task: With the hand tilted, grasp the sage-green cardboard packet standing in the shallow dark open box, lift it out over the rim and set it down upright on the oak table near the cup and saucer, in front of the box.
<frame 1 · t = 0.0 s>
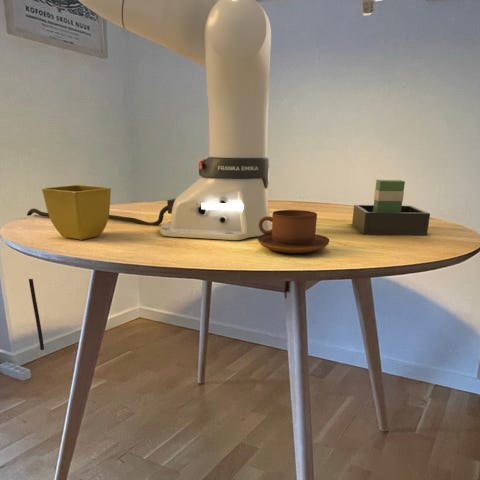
hand: (373, 7, 80), 39 cm above the table, tool pointing down, fingers open, 8 cm apart
packet: (385, 224, 100), point 1 cm above the table, touching dark open box
dark open box: (387, 229, 98), on the table
cup and saucer: (292, 250, 80), on the table
flower pot: (82, 238, 88), on the table
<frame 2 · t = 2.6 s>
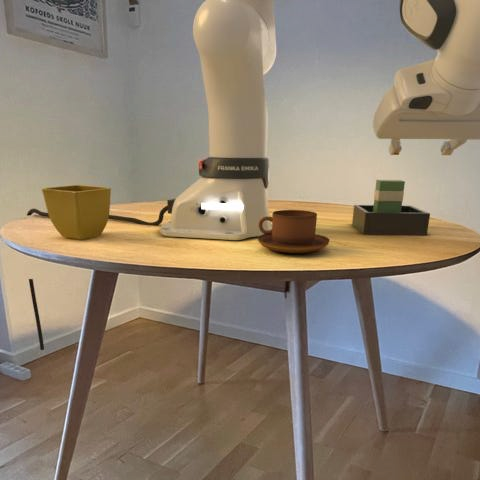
hand: (419, 152, 83), 16 cm above the table, tool tilted 45°, fingers open, 8 cm apart
nothing on the table moved.
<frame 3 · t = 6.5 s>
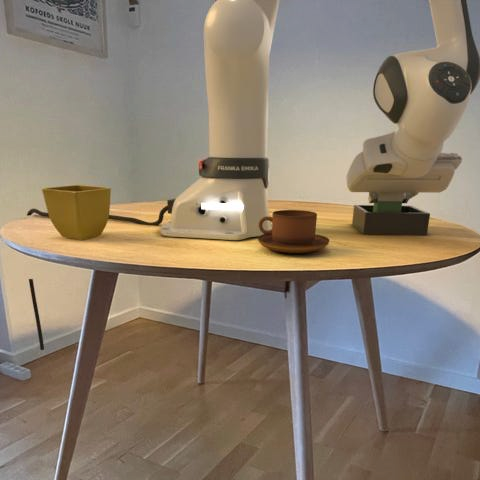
hand: (386, 200, 99), 6 cm above the table, tool tilted 45°, fingers closed on packet, 5 cm apart
packet: (385, 224, 100), point 1 cm above the table, touching gripper, dark open box
everything else where it was.
when the fingers open (5 cm above the table, at t = 15.7 s): packet stays where it is, on the table.
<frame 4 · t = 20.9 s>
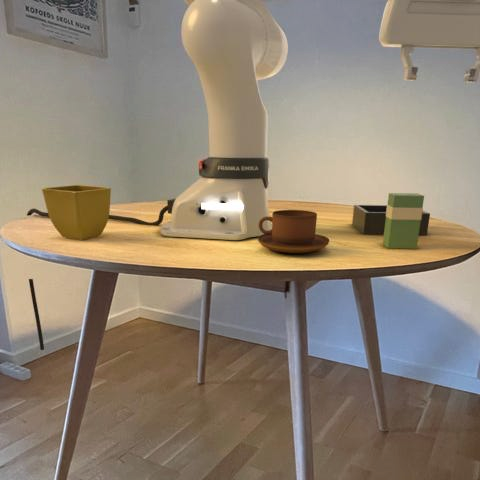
hand: (439, 81, 73), 26 cm above the table, tool pointing down, fingers open, 8 cm apart
packet: (399, 246, 83), on the table
everything else where it was.
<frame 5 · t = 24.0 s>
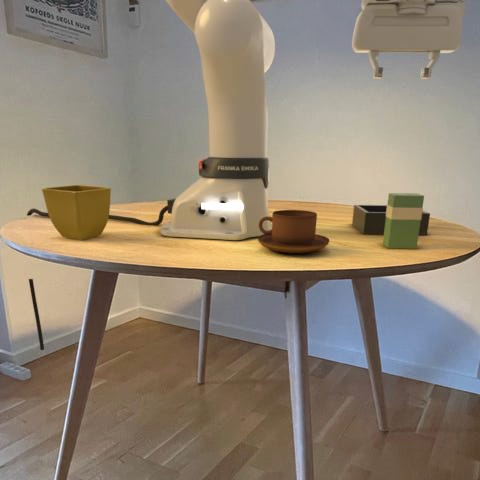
hand: (401, 78, 93), 29 cm above the table, tool pointing down, fingers open, 8 cm apart
nothing on the table moved.
at the end: packet 19.6 cm from the cup and saucer (horizontally); packet tilted 0°; packet touching table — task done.
